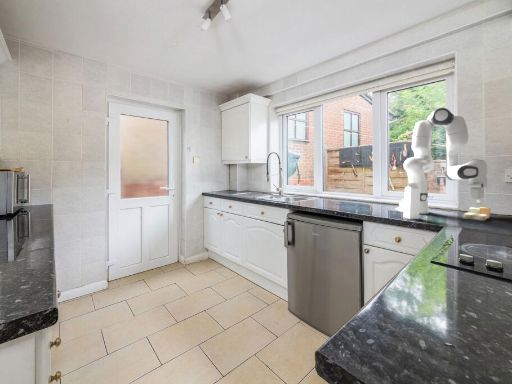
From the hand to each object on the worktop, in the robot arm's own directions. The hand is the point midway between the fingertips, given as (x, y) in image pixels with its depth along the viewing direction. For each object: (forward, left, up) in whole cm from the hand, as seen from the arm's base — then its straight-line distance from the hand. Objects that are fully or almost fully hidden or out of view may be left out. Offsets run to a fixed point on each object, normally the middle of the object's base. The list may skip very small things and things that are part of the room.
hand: (477, 205), depth 162 cm
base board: (+8, -10, -7) cm, 15 cm away
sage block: (-1, -1, -7) cm, 7 cm away
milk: (+3, -49, -7) cm, 49 cm away
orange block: (+5, 0, -7) cm, 8 cm away
